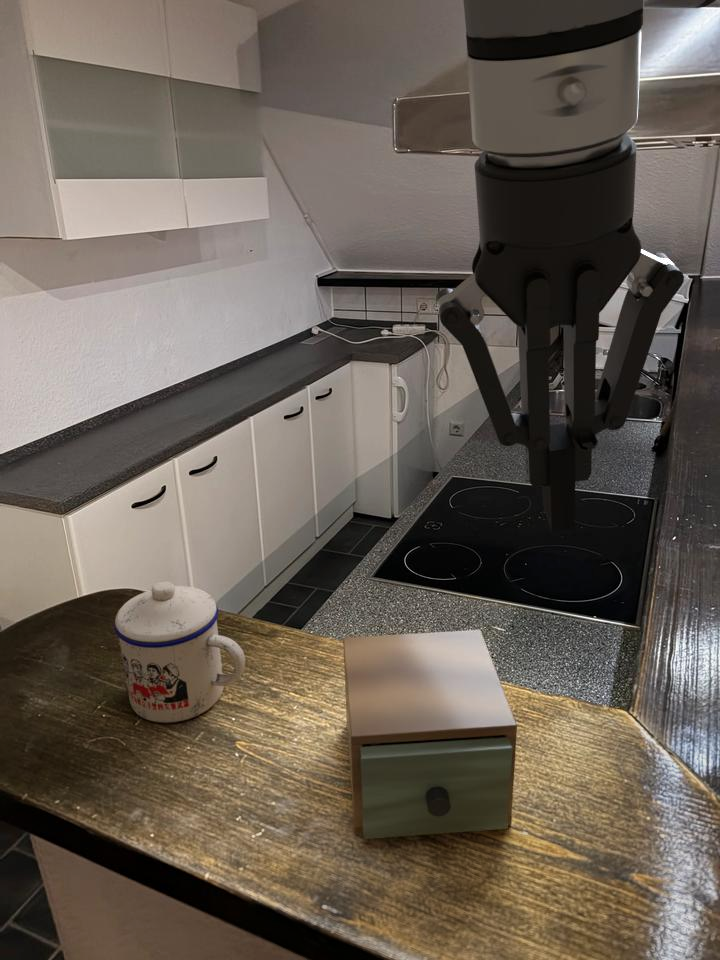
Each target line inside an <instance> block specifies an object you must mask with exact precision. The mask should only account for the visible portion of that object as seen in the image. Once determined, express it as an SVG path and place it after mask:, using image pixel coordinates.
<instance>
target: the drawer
mask: <svg viewBox="0 0 720 960" xmlns="http://www.w3.org/2000/svg"><path fill="white" fill-rule="evenodd" d="M364 746H365V747H360V761H361V791H362V821H363V835H362V836H363V839H364V840H369V839H370V840H371V839H385V838H397V837H411V836H412V837H413V836H426V835H439V834H451V833H467V832H479V831H493V830H506V829H508V826H509V825H508V812H509V796H510V779H511V763H512V746H511V743H510V741H509V738H508V737H502V738H493V736H483V737H468V738H453V739H437V740H422V741H407V742H392V743H377V744H364Z"/></svg>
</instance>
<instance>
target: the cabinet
mask: <svg viewBox="0 0 720 960" xmlns="http://www.w3.org/2000/svg"><path fill="white" fill-rule="evenodd" d="M342 641H343V643H342V644H343V664H344V665H343V667H344V690H345V691H344V692H345V715H346V716H345V717H346V718H345V719H346V732H347V733H346V735H347V747H348V762H349V774H350V775H349V776H350V791H351V803H352V816H353V817H352V818H353V829H354V836H356V837H357V836H363V821H362V791H361V761H360V747H365V746H364V744H377V743H392V742H407V741H422V740H437V739H453V738H468V737H483V736H493V738H502V737H508V738H509V741H510V743H511V746H512V763H511V779H510V796H509V812H508V826H509V825H512V814H513V801H514V798H513V797H514V782H515V765H516V751H517V733H518V724H517V722H516V718H515V716H514V714H513V710H512V709H511V705H510V703H509V701H508V698H507V695H506V693H505V690H504V688H503V684H502V682H501V679H500V677H499V674H498V671H497V669H496V666H495V664H494V661H493V658H492V656H491V654H490V651H489V649H488V648H489V647H488V645H487V642H486V639H485V638H484V635H483V632H482V630H481V629H467V630H452V631H451V630H449V631H434V632H433V631H431V632H417V633H401V634H399V633H398V634H383V635H365V636H350V637H343V639H342Z"/></svg>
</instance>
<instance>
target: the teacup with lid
mask: <svg viewBox="0 0 720 960" xmlns="http://www.w3.org/2000/svg"><path fill="white" fill-rule="evenodd" d="M218 616H219V608H218V605H217V603H216V600H215V599H214V598H213V597H212V595H210V593H208V592H207V591H204V590H202V589H199V588H197V587H192V586H186V585H175V584H173V583H172V582H170V581H167V580H165V581H159V582H157V583H155V584H154V585H152V587H151V589H149V590H145V591H143V592H142V593H139V594H137V595H136V596H134V597H132V598H130V599H129V600H128V601H126V602H125V603H124V604H123V605H122V606H121V607H120V608H119V610H118V611H117V613H116V615H115V620H114V625H113V627H114V628H113V629H114V632H115V634H116V636H117V637H118V639H119V646H120V652H121V657H122V663H123V668H124V669H123V670H124V675H125V682H126V687H127V693H128V699H129V704H130V705H131V706H130V707H131V709H132V710H133V711H134V712H135V713H136V714H137V716H139V717H140V718H143V719H144V720H148V721H151V722H155V723H164V724H165V723H178V722H183V721H186V720H190V719H192V718H195V717H198V716H199V715H201V714H203V713H205V712H206V711H208V710H209V709H211V708H213V706H214V705H215V704H216V703H217V702H218V701H219V699H220V698H221V696H222V694H223V692H224V687H229V686H233V685H234V684H235V683H237V682H238V680H239V679H240V678H241V677H242V675H243V674H244V672H245V668H246V656H245V653H244V651H243V649H242V647H241V646H240V645H239V644H238V643H237V641H235V640H233V639H232V638H230V637H227V636H225V635H220V634H219V629H218V622H217V621H218V620H217V619H218ZM221 650H223V651H225V652H226V653H227V654H228V655H229V656H230V657H231V659H232V662H233V673H230V674H229V673H228V674H226V673H225V674H224V673H223V664H222V656H221V655H222V654H221Z"/></svg>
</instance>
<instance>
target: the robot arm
mask: <svg viewBox="0 0 720 960" xmlns="http://www.w3.org/2000/svg"><path fill="white" fill-rule="evenodd" d="M462 2H463V9H464V10H463V11H464V21H465V33H466V35H465V37H466V38H465V39H466V40H465V41H466V51H467V52H466V64H467V65H466V66H467V82H468V95H469V96H468V97H469V110H470V126H471V140H472V142H473V144H474V146H476V147H477V148H478V149H479V150H481V151H482V152H481V153H480V155H479V156H478V158H477V160H476V161H475V163H474V176H475V178H474V179H475V191H476V204H477V205H476V206H477V217H478V218H477V219H478V227H479V228H478V232H479V242H478V248H477V250H476V252H475V255H474V257H473V259H472V264H471V271H472V273H471V274H470V275H469V276H468V277H467V278H466V279H465V280H463V281H462V282H461V283H460V284H459V285H457V286H456V287H455V288H454V289H452V288H443V289H441V290H439V291H438V293H436V296H435V303H436V308H437V311H438V317H439V320H440V323H441V325H443V327H444V328H445V330H447V331H448V332H449V333H450V335H452V336H453V337H454V339H455V340H457V342H458V343H459V344H460V345H461V347H462V348H463V351H464V354H465V357H466V359H467V362H468V364H469V367H470V369H471V371H472V374H473V378H474V379H475V383H476V385H477V387H478V390H479V393H480V395H481V399H482V400H483V403H484V407H485V408H486V410H487V413H488V416H489V418H490V421H491V424H492V426H493V429H494V431H495V432H494V433H495V434H496V437H497V439H498V442H499V443H500V444H501V445H502V446H503V447H513V446H514V445H515V444H520V445H523V446H524V462H525V464H524V465H525V471H526V476H527V477H528V480H529V483H530V485H531V487H532V488H533V489H536V488H537V489H538V488H541V489H542V507H543V511H544V514H545V516H546V519H547V522H548V526H549V529H550V531H551V533H552V534H553V533H559V532H566V531H573V530H574V531H575V530H576V483H577V482H583V481H589V479H590V477H591V476H592V466H593V465H592V463H593V462H592V460H593V459H592V458H593V457H592V456H593V454H592V453H593V449H595V448H596V446H598V442H599V440H598V438H597V436H596V435H597V434H599V433H600V432H602V431H605V430H609V431H618V430H620V429H622V428H623V427H624V425H625V424H626V422H627V419H628V416H629V413H630V409H631V406H632V404H633V401H634V398H635V394H636V393H637V392H636V391H637V389H638V386H639V382H640V380H641V377H642V373H643V370H644V367H645V364H646V361H647V359H648V357H649V356H648V355H649V352H650V350H651V346H652V343H653V340H654V338H655V335H656V331H657V329H658V325H659V322H660V320H661V317H662V313H663V312H664V311H665V310H666V308H667V307H668V305H669V304H670V302H671V301H672V300H673V299H674V297H675V295H676V294H677V293H678V292H679V290H680V289H681V287H682V286H683V284H684V282H685V276H684V272H682V271H681V270H680V268H678V266H676V264H675V263H674V262H673V261H672V260H671V259H670V258H669V257H668V255H666V254H665V253H663V252H655V253H653V254H652V253H651V252H648V251H646V250H644V249H642V243H641V239H640V238H639V236H638V235H637V233H636V230H635V228H634V223H633V220H634V212H635V211H634V210H635V191H636V190H635V189H636V170H637V150H638V149H637V147H638V146H637V143H636V142H635V141H634V140H633V139H632V137H631V136H630V135H629V134H627V133H628V132H630V131H631V130H632V129H633V128H634V127H635V125H636V124H638V115H639V97H640V96H639V95H640V94H639V92H640V74H641V72H640V71H641V53H642V51H641V50H642V47H641V46H642V28H643V25H644V9H651V10H657V9H658V10H689V9H720V0H463V1H462ZM625 280H626V286H627V287H628V289H627V291H626V293H625V296H624V299H623V302H622V304H621V308H620V312H619V314H618V319H617V321H616V325H615V328H614V332H613V335H612V339H611V342H610V345H609V349H608V353H607V356H606V359H605V362H604V366H603V370H602V373H601V375H600V379H599V383H598V386H597V390H596V378H597V377H596V375H597V374H596V373H597V371H596V370H597V369H596V368H597V341H598V340H599V339H600V313H601V312H602V311H603V310H604V309H605V307H606V306H607V305H608V303H609V302H610V301H611V299H612V298H613V296H614V295H615V294H616V292H617V291H618V290H619V288H620V287H621V286H622V284H623V283H624V282H625ZM485 296H487V297H488V299H490V301H492V302H493V304H494V305H495V306H497V307H498V308H499V310H500V311H501V312H502V313H503V314H504V315H505V316H506V317H507V318H508V319H509V320H510V321H511V322H512V323H513V324H515V325H516V329H517V340H518V359H519V360H518V361H519V386H520V404H521V405H520V406H521V413H514V412H512V409H511V408H510V404H509V402H508V399H507V396H506V393H505V390H504V388H503V384H502V382H501V380H500V377H499V374H498V371H497V368H496V365H495V363H494V360H493V358H492V355H491V352H490V349H489V346H488V343H487V341H486V337H485V335H484V333H483V330H482V327H481V324H480V323H481V322H482V321H483V319H484V317H485V309H484V306H483V304H482V302H483V298H484V297H485ZM558 326H563V327H562V328H563V329H562V330H563V332H562V333H563V403H564V404H563V410H564V411H563V414H564V419H565V422H566V423H565V422H563V423H556V424H551V417H550V416H551V415H550V412H551V411H550V410H551V409H550V363H549V362H550V361H549V360H550V357H549V355H550V354H549V349H550V348H551V329H554V328H556V327H558Z"/></svg>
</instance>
